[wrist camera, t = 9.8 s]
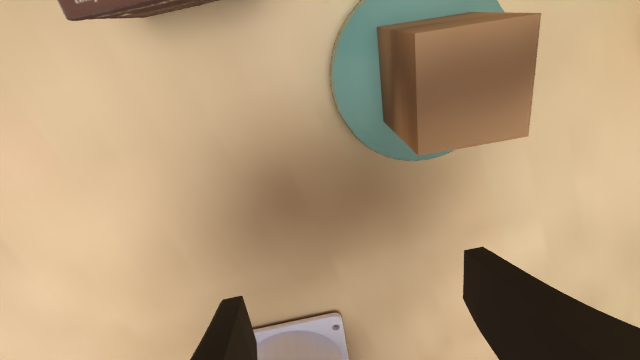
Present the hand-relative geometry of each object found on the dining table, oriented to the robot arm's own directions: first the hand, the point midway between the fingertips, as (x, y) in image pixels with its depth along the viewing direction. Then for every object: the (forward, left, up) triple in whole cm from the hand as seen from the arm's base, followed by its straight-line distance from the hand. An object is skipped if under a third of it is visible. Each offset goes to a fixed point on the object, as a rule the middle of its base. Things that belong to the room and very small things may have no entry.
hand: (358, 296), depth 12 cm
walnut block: (+5, -6, -9) cm, 12 cm away
